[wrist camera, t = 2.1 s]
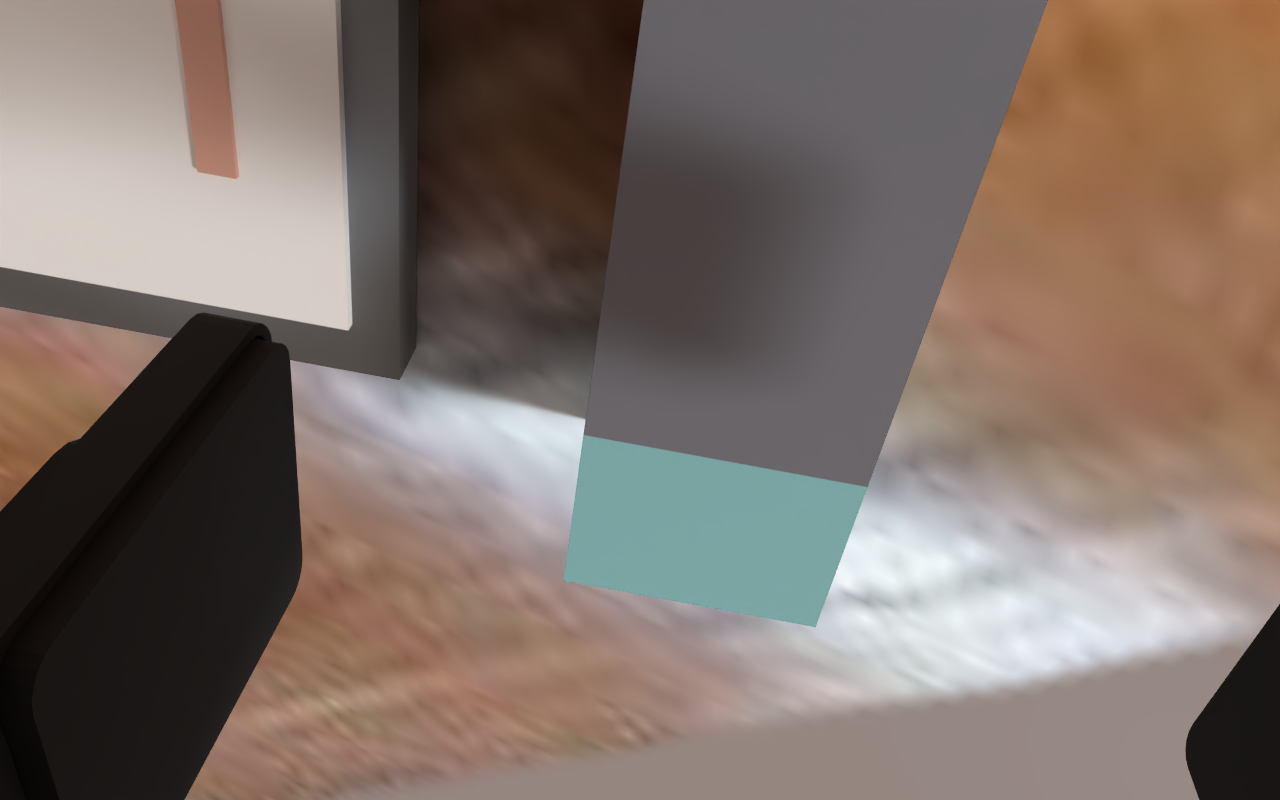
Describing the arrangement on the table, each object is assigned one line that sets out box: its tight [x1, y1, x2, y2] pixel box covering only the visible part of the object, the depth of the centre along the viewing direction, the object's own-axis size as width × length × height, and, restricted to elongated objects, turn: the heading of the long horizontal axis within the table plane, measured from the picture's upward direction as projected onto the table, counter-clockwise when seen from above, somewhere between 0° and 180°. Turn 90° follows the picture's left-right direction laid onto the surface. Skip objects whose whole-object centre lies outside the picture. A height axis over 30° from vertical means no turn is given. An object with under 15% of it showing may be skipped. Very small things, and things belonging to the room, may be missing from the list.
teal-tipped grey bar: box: [564, 0, 1048, 627], centre depth 14 cm, size 14×4×4 cm, turn 172°
